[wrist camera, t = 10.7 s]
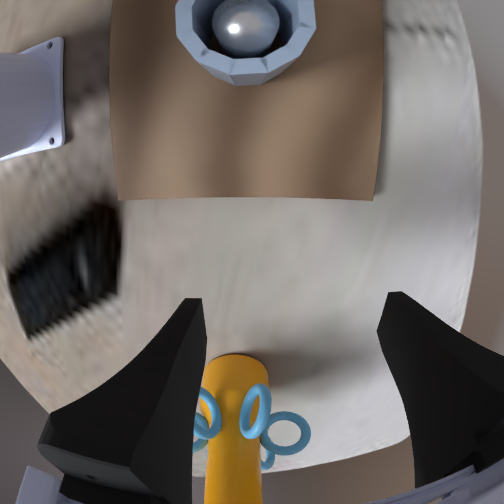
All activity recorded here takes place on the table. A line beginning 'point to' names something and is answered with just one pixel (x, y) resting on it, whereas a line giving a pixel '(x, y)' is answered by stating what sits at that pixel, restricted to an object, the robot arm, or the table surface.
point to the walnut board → (246, 111)
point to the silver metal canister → (245, 27)
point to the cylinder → (238, 429)
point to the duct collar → (249, 69)
